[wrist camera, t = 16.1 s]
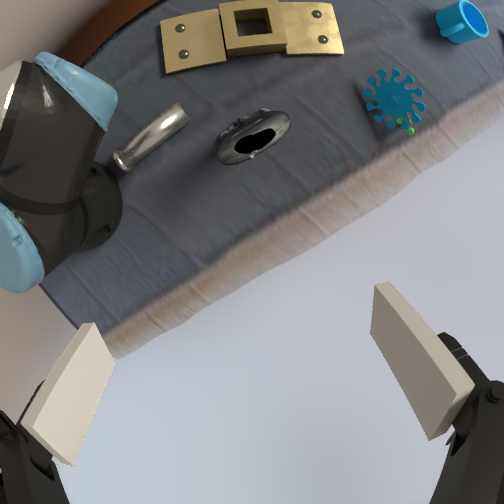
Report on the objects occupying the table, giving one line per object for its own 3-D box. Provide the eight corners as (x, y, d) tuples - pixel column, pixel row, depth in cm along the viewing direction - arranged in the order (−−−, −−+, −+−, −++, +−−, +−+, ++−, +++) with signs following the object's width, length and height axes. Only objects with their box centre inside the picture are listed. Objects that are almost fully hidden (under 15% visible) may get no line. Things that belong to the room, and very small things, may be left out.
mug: (446, 6, 27) (468, -4, 20) (469, 37, 30) (493, 31, 22) (419, 21, 30) (443, 9, 22) (445, 55, 32) (471, 48, 25)
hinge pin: (194, 125, 36) (129, 177, 38) (190, 117, 38) (130, 164, 40) (177, 103, 33) (110, 159, 34) (174, 97, 35) (113, 148, 37)
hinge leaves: (167, 74, 35) (160, 68, 31) (161, 23, 31) (155, 14, 27) (341, 55, 34) (350, 48, 30) (329, 5, 30) (336, -4, 27)
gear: (351, 79, 35) (407, 60, 27) (363, 77, 38) (413, 61, 30) (379, 143, 39) (436, 131, 31) (388, 134, 42) (438, 123, 34)
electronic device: (228, 164, 40) (221, 174, 27) (211, 131, 38) (196, 125, 25) (285, 138, 39) (308, 135, 25) (269, 105, 37) (284, 86, 23)
